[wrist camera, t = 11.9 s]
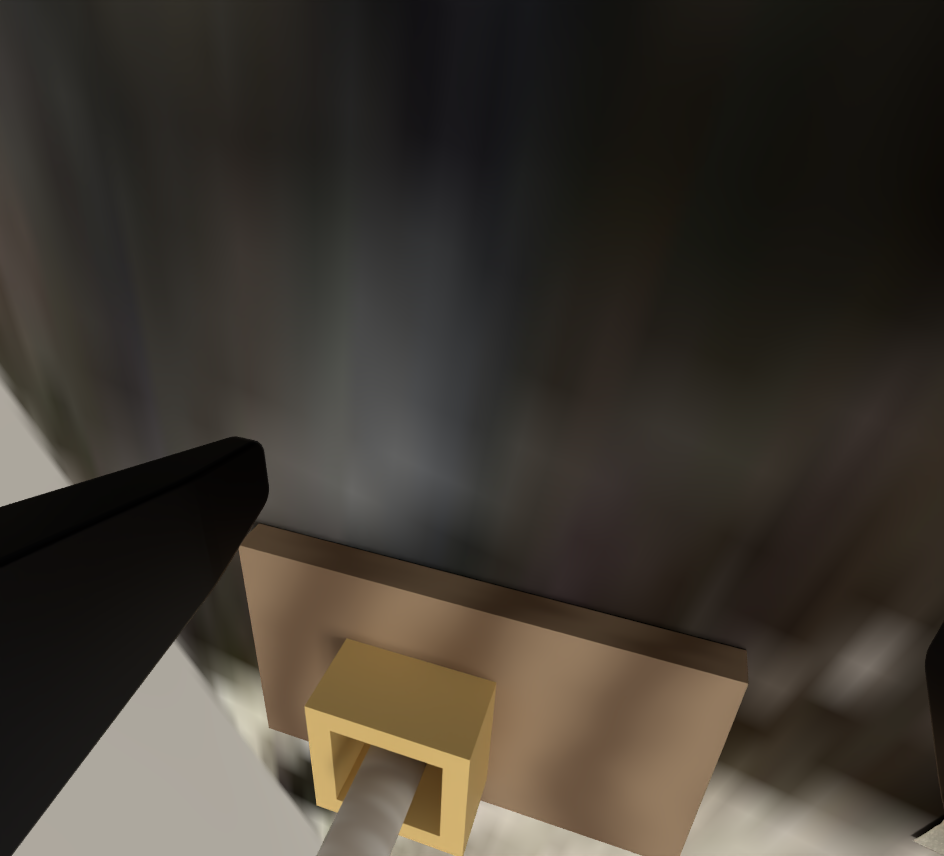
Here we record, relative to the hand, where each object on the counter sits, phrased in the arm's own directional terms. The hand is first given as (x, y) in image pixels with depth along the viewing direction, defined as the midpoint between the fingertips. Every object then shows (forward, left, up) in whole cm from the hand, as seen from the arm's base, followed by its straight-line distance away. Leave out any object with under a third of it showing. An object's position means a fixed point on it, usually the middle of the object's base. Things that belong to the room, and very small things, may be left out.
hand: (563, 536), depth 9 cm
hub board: (+4, +19, -12) cm, 23 cm away
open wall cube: (+6, +20, -10) cm, 23 cm away
